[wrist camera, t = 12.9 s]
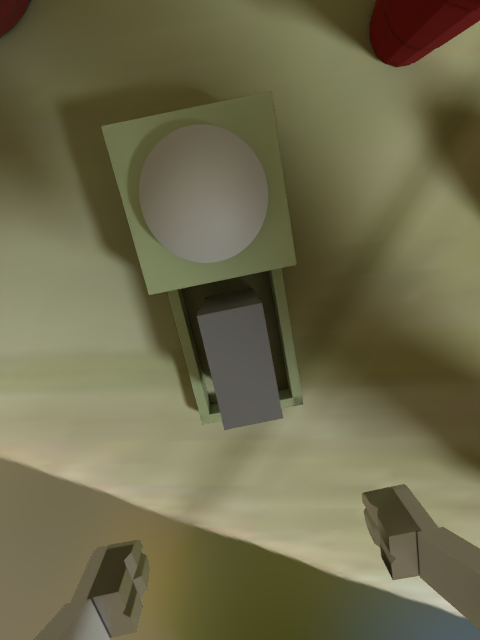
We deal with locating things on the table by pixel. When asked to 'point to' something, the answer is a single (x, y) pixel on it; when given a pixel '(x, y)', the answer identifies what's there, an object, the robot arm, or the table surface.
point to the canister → (11, 13)
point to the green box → (208, 211)
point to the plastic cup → (418, 27)
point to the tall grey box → (240, 358)
